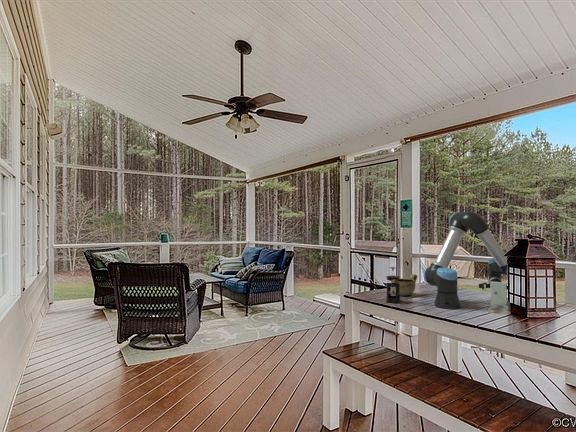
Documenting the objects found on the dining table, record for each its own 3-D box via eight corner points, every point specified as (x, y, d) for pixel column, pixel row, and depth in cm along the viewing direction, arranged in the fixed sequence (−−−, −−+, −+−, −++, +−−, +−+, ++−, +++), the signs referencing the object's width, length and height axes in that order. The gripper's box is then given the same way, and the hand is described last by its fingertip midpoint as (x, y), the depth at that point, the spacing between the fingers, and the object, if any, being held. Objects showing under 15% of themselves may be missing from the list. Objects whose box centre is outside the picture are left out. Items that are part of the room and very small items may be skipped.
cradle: (488, 312, 208) (488, 301, 208) (487, 310, 214) (487, 299, 214) (510, 314, 203) (510, 303, 203) (509, 312, 209) (509, 301, 209)
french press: (404, 303, 234) (403, 268, 235) (391, 304, 231) (391, 268, 232) (394, 299, 245) (393, 266, 246) (381, 300, 243) (381, 266, 243)
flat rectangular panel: (491, 309, 208) (490, 282, 209) (490, 308, 211) (490, 281, 212) (507, 311, 205) (506, 283, 205) (506, 310, 208) (505, 282, 208)
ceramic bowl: (398, 298, 249) (398, 276, 249) (383, 294, 265) (383, 273, 265) (423, 295, 257) (423, 275, 257) (408, 291, 273) (407, 272, 273)
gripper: (518, 291, 229) (522, 297, 210) (474, 288, 240) (474, 293, 221) (518, 279, 229) (522, 284, 210) (474, 277, 240) (474, 281, 221)
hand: (497, 289), depth 216 cm, fingers open, 13 cm apart
